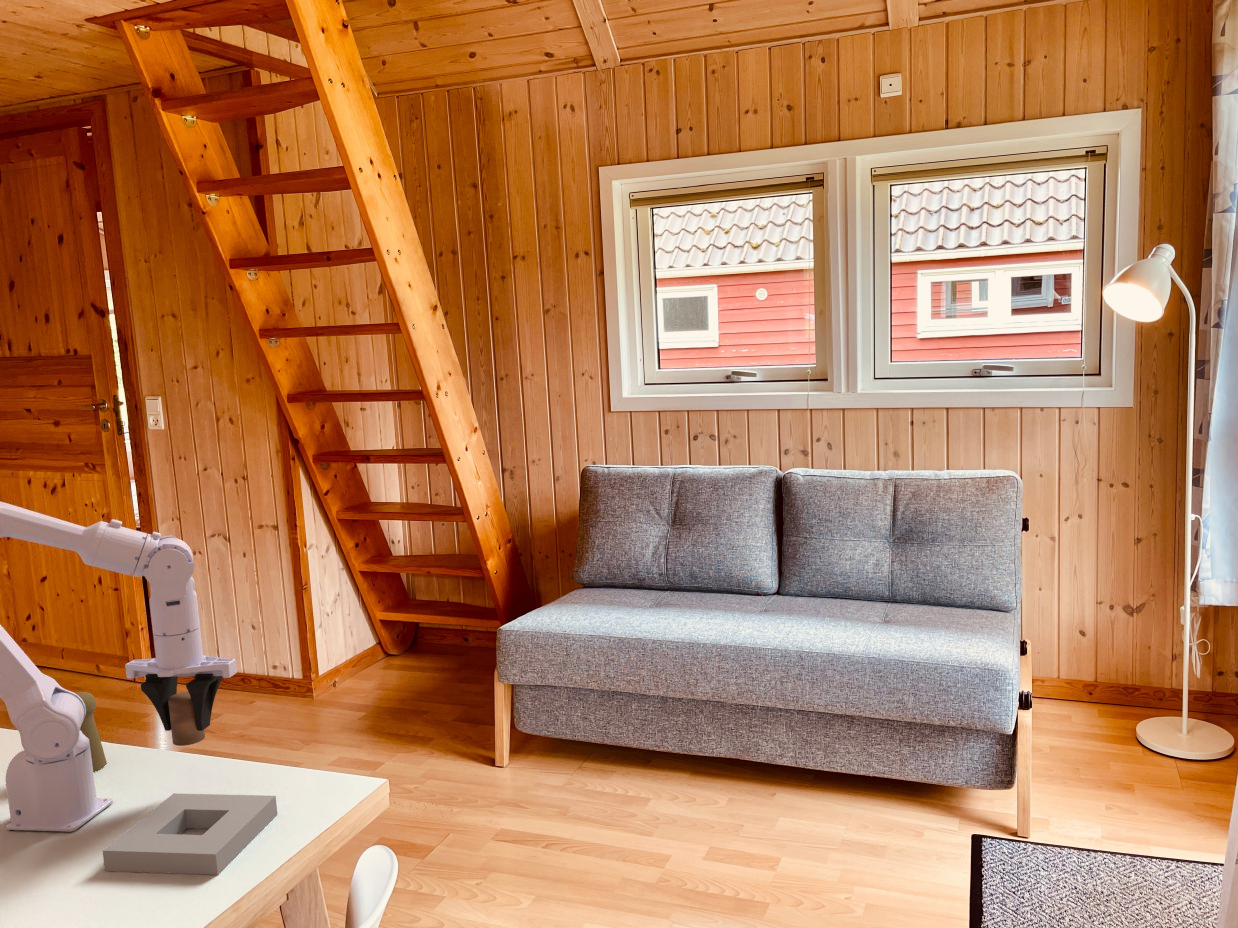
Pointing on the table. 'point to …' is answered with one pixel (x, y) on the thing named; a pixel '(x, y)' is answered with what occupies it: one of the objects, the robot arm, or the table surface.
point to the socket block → (169, 852)
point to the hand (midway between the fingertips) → (187, 727)
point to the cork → (92, 731)
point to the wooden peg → (183, 720)
